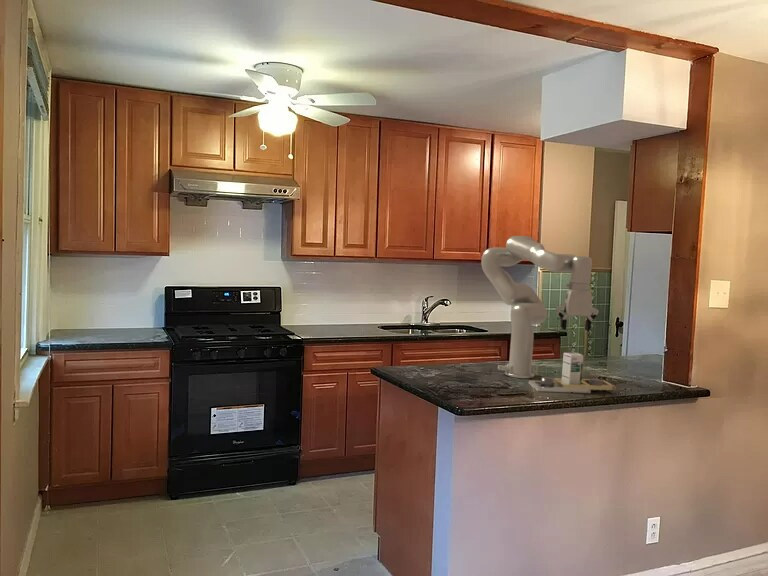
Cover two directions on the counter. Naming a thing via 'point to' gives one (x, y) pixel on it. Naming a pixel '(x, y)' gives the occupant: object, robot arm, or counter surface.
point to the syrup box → (572, 368)
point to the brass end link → (588, 385)
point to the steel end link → (549, 384)
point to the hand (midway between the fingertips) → (575, 329)
